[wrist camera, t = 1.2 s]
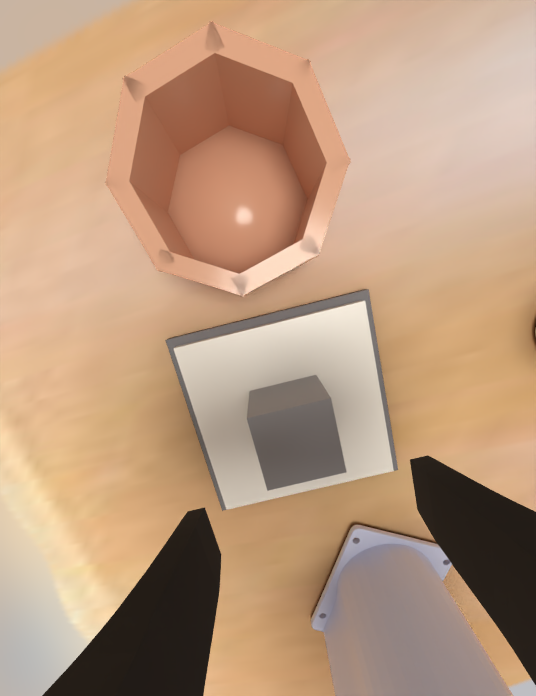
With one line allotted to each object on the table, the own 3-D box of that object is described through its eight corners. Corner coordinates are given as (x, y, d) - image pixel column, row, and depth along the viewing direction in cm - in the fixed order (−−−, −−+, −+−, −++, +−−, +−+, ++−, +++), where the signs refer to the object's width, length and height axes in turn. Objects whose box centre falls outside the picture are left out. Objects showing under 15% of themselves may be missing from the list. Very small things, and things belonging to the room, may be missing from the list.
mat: (394, 465, 19) (398, 469, 18) (223, 504, 19) (222, 510, 19) (365, 289, 16) (368, 289, 16) (168, 338, 17) (165, 340, 16)
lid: (389, 465, 18) (425, 514, 14) (227, 502, 19) (218, 562, 15) (361, 300, 16) (395, 304, 12) (176, 346, 16) (149, 365, 12)
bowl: (288, 306, 16) (300, 314, 12) (145, 262, 16) (93, 251, 11) (337, 152, 15) (376, 85, 10) (180, 94, 14) (137, -9, 9)
